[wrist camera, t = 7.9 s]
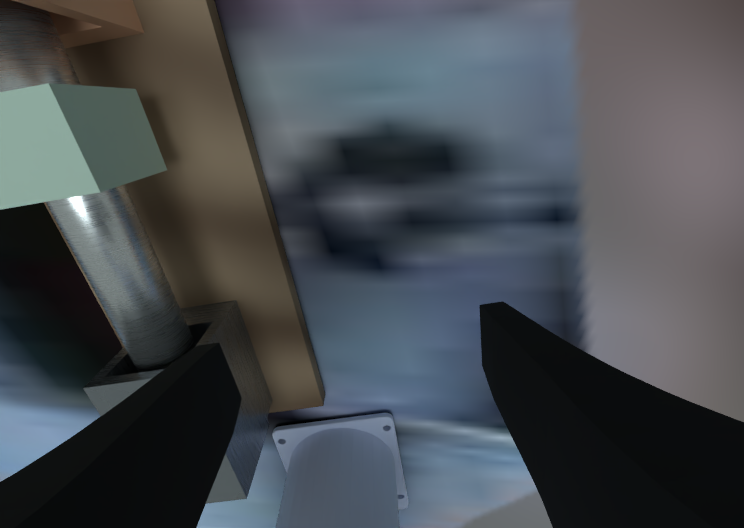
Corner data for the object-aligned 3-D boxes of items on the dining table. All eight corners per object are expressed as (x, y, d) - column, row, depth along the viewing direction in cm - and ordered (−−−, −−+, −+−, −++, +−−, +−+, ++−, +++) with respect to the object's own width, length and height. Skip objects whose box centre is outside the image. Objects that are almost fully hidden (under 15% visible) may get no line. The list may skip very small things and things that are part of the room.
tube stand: (325, 393, 23) (309, 502, 17) (174, 413, 23) (104, 526, 17) (179, -123, 13) (3, -335, 7) (-78, -67, 13) (-466, -215, 7)
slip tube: (230, 332, 18) (195, 391, 14) (153, 343, 18) (99, 404, 14) (68, -86, 11) (-75, -177, 8) (-50, -61, 11) (-244, -137, 8)
